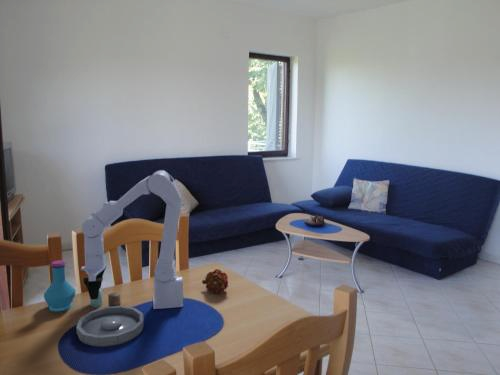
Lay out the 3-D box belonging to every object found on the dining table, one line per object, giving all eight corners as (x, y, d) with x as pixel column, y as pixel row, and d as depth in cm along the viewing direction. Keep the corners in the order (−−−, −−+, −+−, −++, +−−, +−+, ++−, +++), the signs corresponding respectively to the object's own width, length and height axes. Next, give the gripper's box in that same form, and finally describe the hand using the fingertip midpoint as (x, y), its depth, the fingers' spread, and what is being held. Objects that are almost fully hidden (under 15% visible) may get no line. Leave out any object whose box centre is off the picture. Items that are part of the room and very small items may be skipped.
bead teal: (102, 302, 135) (102, 287, 134) (101, 306, 131) (101, 292, 130) (91, 302, 134) (90, 288, 133) (89, 307, 130) (89, 293, 129)
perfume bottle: (64, 314, 125) (61, 268, 123) (37, 311, 127) (35, 265, 125) (82, 301, 134) (80, 258, 132) (57, 298, 136) (54, 255, 134)
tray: (143, 312, 128) (143, 303, 128) (143, 342, 111) (142, 333, 111) (82, 317, 124) (82, 308, 124) (72, 350, 107) (72, 340, 106)
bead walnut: (120, 306, 132) (120, 292, 131) (120, 311, 128) (119, 297, 128) (109, 307, 131) (108, 293, 130) (108, 312, 127) (107, 297, 127)
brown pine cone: (219, 303, 140) (209, 293, 151) (237, 286, 142) (226, 278, 153) (204, 285, 138) (195, 277, 149) (223, 268, 140) (213, 261, 151)
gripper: (84, 247, 135) (85, 285, 138) (77, 262, 122) (78, 304, 124) (106, 246, 137) (107, 284, 139) (102, 261, 123) (103, 302, 126)
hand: (95, 293), depth 132 cm, fingers open, 7 cm apart
